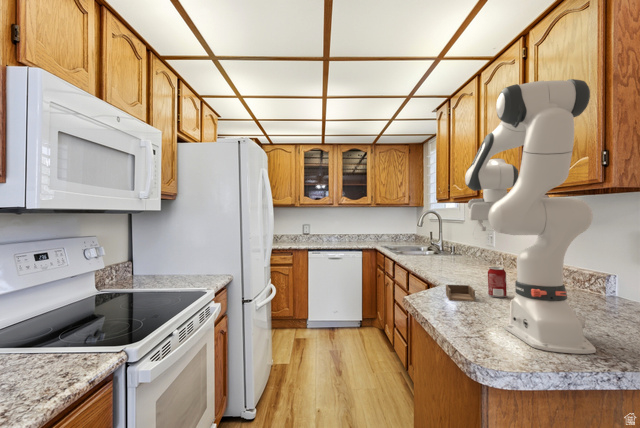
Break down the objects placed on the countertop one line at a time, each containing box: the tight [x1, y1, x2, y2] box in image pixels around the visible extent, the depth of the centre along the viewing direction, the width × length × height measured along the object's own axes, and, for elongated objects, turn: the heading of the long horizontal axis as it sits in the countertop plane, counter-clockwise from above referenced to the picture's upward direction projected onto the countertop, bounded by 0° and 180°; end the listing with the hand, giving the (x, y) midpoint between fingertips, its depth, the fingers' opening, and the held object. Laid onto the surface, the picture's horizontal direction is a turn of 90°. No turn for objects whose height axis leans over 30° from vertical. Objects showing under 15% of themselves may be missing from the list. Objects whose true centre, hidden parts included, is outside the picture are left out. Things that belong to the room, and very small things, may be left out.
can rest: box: [445, 284, 476, 302], centre depth 130 cm, size 10×10×4 cm
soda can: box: [487, 266, 508, 299], centre depth 131 cm, size 7×7×12 cm
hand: (495, 231), depth 131 cm, fingers open, 8 cm apart
